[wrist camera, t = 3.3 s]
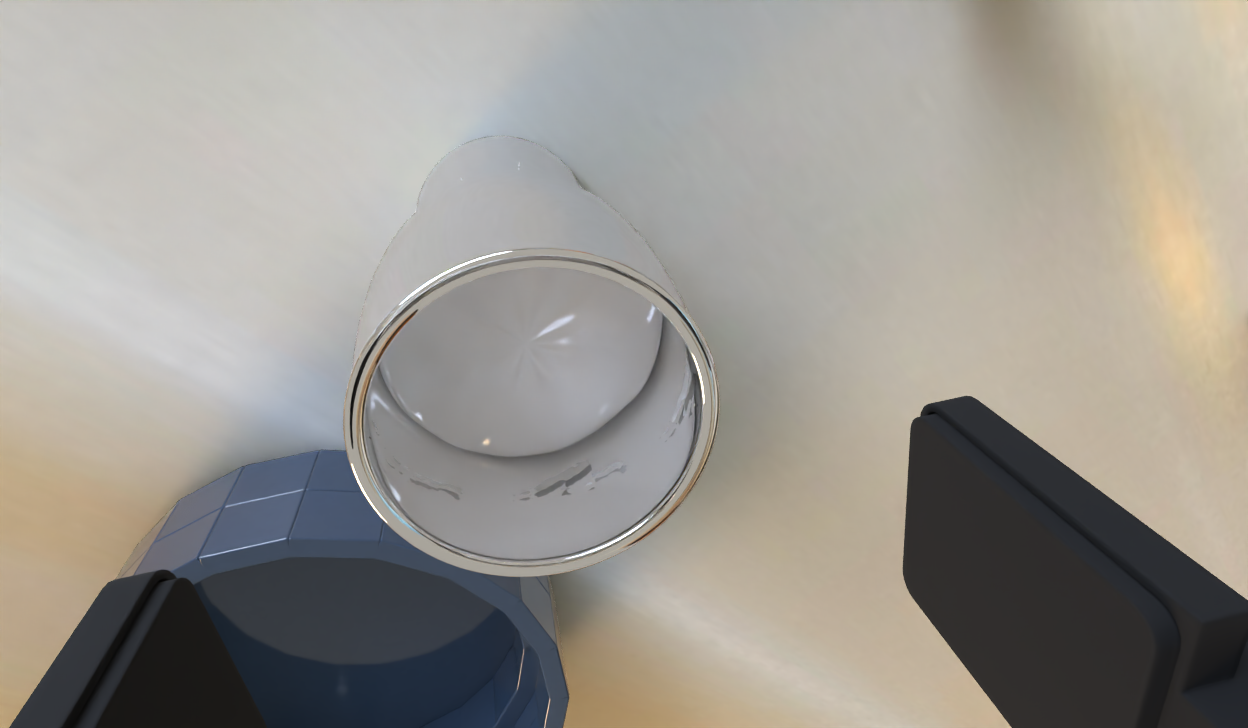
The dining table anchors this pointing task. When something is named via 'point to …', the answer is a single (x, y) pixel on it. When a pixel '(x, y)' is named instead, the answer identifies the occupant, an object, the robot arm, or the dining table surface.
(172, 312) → the dining table surface
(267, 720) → the bowl
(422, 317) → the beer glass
